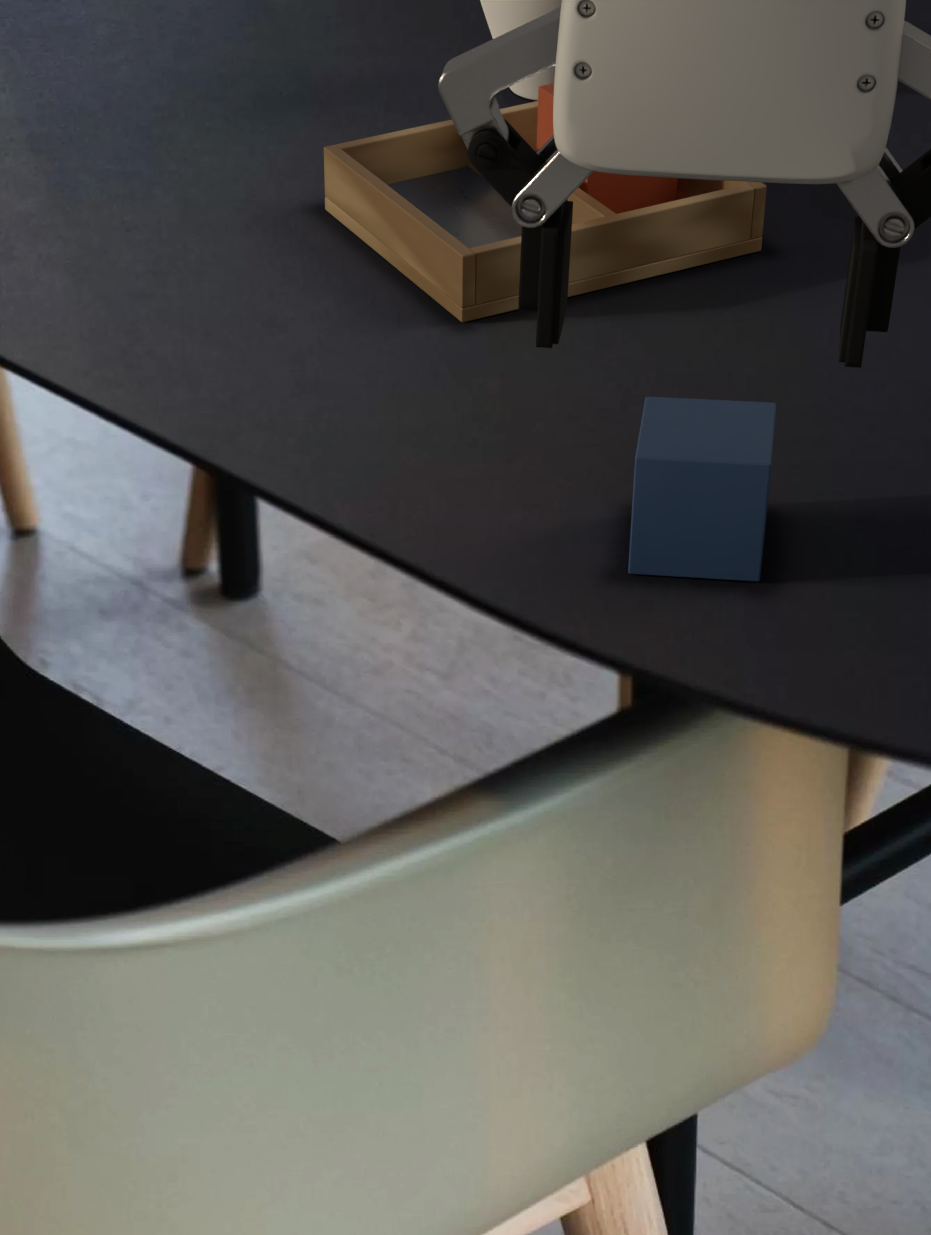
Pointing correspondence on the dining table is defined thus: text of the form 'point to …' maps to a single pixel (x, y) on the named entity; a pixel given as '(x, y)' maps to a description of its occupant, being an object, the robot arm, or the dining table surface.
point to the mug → (510, 7)
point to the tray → (490, 236)
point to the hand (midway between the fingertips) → (699, 339)
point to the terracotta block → (607, 187)
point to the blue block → (701, 488)
